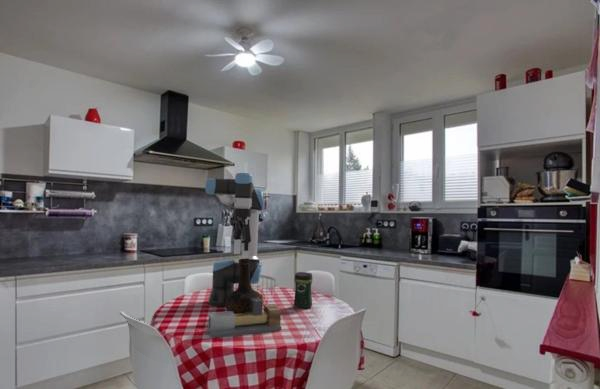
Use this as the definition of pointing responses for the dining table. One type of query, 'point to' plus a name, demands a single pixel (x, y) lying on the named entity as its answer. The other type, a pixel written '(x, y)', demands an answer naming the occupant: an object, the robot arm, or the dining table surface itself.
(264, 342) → the dining table surface
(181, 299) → the dining table surface
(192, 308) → the dining table surface
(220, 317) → the steel sleeve
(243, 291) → the glass bottle
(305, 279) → the coffee jar
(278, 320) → the walnut socket
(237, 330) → the base board
